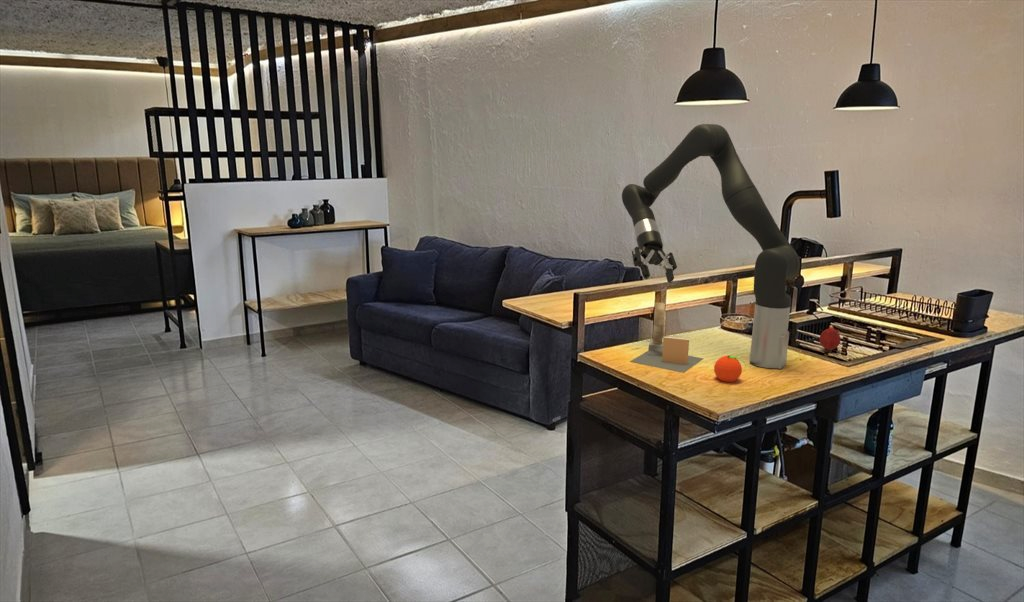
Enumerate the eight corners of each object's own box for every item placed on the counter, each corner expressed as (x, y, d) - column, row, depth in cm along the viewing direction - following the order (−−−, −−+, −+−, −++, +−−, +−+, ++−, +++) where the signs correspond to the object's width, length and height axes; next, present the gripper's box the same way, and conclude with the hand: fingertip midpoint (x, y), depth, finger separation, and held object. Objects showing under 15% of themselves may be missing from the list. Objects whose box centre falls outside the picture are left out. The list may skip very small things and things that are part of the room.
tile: (687, 363, 188) (689, 339, 187) (687, 364, 187) (689, 340, 186) (662, 360, 191) (664, 336, 189) (661, 361, 189) (663, 337, 188)
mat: (703, 360, 193) (703, 358, 193) (683, 374, 180) (683, 372, 180) (651, 350, 202) (651, 348, 201) (629, 363, 189) (629, 361, 189)
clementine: (740, 377, 178) (742, 352, 177) (748, 386, 172) (750, 360, 170) (709, 377, 179) (712, 351, 177) (717, 386, 172) (719, 359, 170)
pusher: (665, 352, 198) (668, 302, 195) (663, 356, 194) (666, 305, 191) (650, 350, 200) (653, 301, 196) (648, 354, 196) (651, 304, 192)
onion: (842, 354, 201) (845, 328, 200) (823, 353, 201) (826, 327, 200) (833, 348, 207) (836, 323, 205) (815, 348, 207) (818, 323, 205)
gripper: (635, 226, 206) (646, 269, 198) (673, 233, 211) (685, 275, 203) (622, 240, 212) (632, 283, 203) (660, 246, 217) (671, 288, 209)
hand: (659, 279), depth 203 cm, fingers open, 8 cm apart
